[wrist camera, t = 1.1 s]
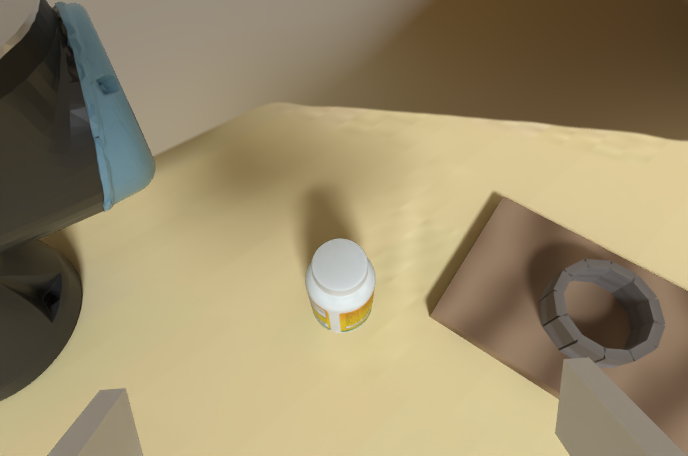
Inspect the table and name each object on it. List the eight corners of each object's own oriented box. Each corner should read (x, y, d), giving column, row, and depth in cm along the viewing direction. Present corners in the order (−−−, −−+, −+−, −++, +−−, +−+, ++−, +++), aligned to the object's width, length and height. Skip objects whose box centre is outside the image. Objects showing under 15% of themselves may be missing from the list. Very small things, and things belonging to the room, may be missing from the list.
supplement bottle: (306, 327, 36) (291, 292, 28) (320, 271, 39) (310, 223, 30) (366, 339, 36) (369, 307, 27) (376, 282, 38) (383, 236, 30)
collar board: (429, 316, 37) (438, 300, 33) (498, 204, 42) (513, 179, 38) (692, 484, 30) (743, 490, 26) (735, 328, 35) (783, 313, 31)
